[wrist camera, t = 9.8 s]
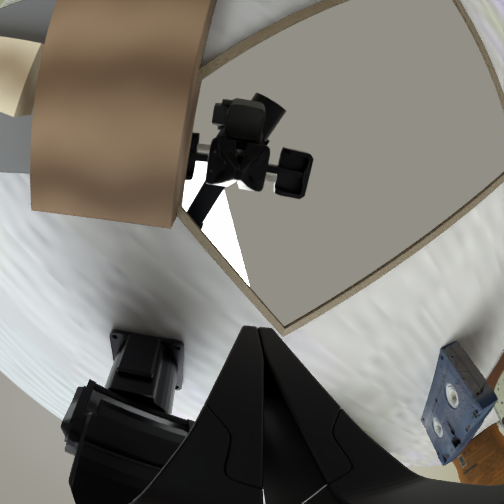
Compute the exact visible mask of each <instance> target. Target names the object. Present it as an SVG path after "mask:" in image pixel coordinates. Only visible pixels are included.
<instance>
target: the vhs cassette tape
mask: <svg viewBox="0 0 504 504" xmlns="http://www.w3.org/2000/svg"><path fill="white" fill-rule="evenodd" d="M497 400H498V398H497V396H496V394H495V392H494V391H493V389H492V388H491V386H490V385H487V381H486V379H485V378H484V377H483V375H482V374H481V373H480V371H479V370H478V368H477V367H476V366H475V365H474V363H473V362H472V360H471V359H470V358H469V357H468V355H467V354H466V352H465V351H464V350H463V348H462V347H461V346H460V345H459V343H458V342H454V343H451V344H449V345H447V346H446V347H444V348H441V349H440V354H439V358H438V362H437V366H436V370H435V374H434V378H433V382H432V385H431V389H430V392H429V396H428V399H427V402H426V405H425V408H424V412H423V415H422V418H421V421H422V423H423V425H424V427H425V428H426V431H427V434H428V435H429V438H430V440H431V442H432V444H433V446H434V448H435V450H436V452H437V455H438V458H439V460H440V461H441V463H442V465H443V466H444V465H446V464H448V463H450V462H452V461H453V460H455V459H456V457H457V456H458V455H459V454H460V453H461V452H462V450H463V449H464V448H465V447H466V445H467V444H468V442H469V441H470V440H471V439H472V438H473V436H474V435H475V433H476V432H477V430H478V429H479V428H480V426H481V425H482V423H483V421H484V419H485V418H486V416H487V415H488V414H489V413H490V411H491V410H492V408H493V406H494V405H495V403H496V402H497Z"/></svg>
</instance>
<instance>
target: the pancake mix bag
mask: <svg viewBox="0 0 504 504" xmlns="http://www.w3.org/2000/svg"><path fill="white" fill-rule="evenodd" d="M452 462H453V463H454V465H455V466H456V469H457V471H458V474H459V479H460V481H461V483H465V484H476V485H501V484H504V436H503V435H502V434H501V432H500V431H499V429H498V426H497V423H495V424H493V425H491V426H489V427H488V428H486V429H485V430H484V431H483V432H481V433H480V434H479V435H477V436H476V437H475V438H473V439H472V440H470V441H469V442H468V444H467V445H466V447H465V448H464V449H463V450H462V452H461V453H460V454H459V455H458V456H457V457H456V459H455V460H453V461H452Z"/></svg>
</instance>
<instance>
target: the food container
mask: <svg viewBox="0 0 504 504" xmlns="http://www.w3.org/2000/svg"><path fill="white" fill-rule="evenodd" d="M486 381H487V385H490V386H491V388H492V389H493V391H494V392H495V394H496V396H497V398H498V400H497V402H496V403H495V405H494V406H493V408H494V410H495V412H496V414H497V416H498V418H499V420H500V421H498V422H497V423H498V424H499V425H500V426H501V427H503V428H504V350H503V352H502V353H501V355H500V357H499V358H498V360H497V361H496V363H495V365H494V366H493V368H492V369H491V371H490V373H489V374H488V376H487V377H486Z"/></svg>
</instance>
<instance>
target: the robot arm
mask: <svg viewBox="0 0 504 504" xmlns="http://www.w3.org/2000/svg"><path fill="white" fill-rule="evenodd" d="M115 335H116V336H115ZM110 341H111V348H112V354H113V360H114V363H113V366H112V369H111V371H110V374H109V377H108V380H107V383H106V385H105V388H104V387H102V386H100V385H98V384H96V382H94V381H92V380H89V382H88V385H87V387H86V386H84V387H78V388H77V390H76V393H75V395H74V398H73V400H72V403H71V405H70V407H69V409H68V411H67V413H66V415H65V417H64V419H63V421H62V424H61V429H62V431H63V433H64V435H65V442H67V443H66V447H65V452H67V453H70V454H72V455H74V456H75V458H74V461H73V464H72V468H71V472H70V477H69V485H70V487H71V491H72V494H73V497H74V500H75V503H76V504H263V491H262V490H263V489H264V496H265V502H266V504H504V484H501V485H476V484H465V483H456V482H449V481H442V480H435V479H429V478H426V477H423V476H420V475H418V474H416V473H414V472H412V471H411V470H409V469H408V468H407V467H405V466H404V465H403V464H402V463H400V462H399V461H398V460H397V459H396V458H394V457H393V456H392V455H391V454H390V453H388V452H387V451H386V450H385V449H384V448H382V447H381V446H380V445H379V444H378V443H377V442H375V441H374V440H373V439H372V438H371V437H370V436H369V435H368V434H367V433H365V432H364V431H363V430H362V429H361V428H360V427H359V426H358V425H357V424H356V423H355V422H354V421H353V419H352V418H351V417H350V416H349V415H348V414H347V413H346V412H345V411H344V410H343V409H340V408H341V407H340V405H339V404H338V403H337V402H336V401H335V400H334V399H333V398H332V397H331V395H330V394H329V393H328V392H327V391H326V390H325V389H324V388H323V386H322V385H321V384H320V383H319V382H318V381H317V380H316V379H315V377H314V376H313V375H312V374H311V373H310V372H309V371H308V369H307V368H306V367H305V366H304V365H303V364H302V363H301V361H300V360H299V359H298V358H297V357H296V356H295V354H294V353H293V352H292V351H291V350H290V349H289V348H288V346H287V345H286V344H285V343H284V342H283V341H282V339H281V338H280V337H279V336H278V335H277V333H276V332H275V331H274V330H273V329H272V328H265V327H259V328H257V327H255V326H243V327H242V328H241V330H240V333H239V335H238V337H237V339H236V341H235V343H234V345H233V347H232V349H231V351H230V353H229V355H228V357H227V359H226V362H225V364H224V366H223V368H222V370H221V372H220V374H219V376H218V378H217V380H216V382H215V384H214V386H213V388H212V390H211V392H210V394H209V396H208V398H207V400H206V402H205V404H204V406H203V408H202V410H201V412H200V414H199V416H198V417H197V419H196V421H195V422H194V421H192V420H189V419H187V420H185V419H182V418H179V417H176V416H173V415H171V413H172V406H173V399H174V392H175V390H180V389H181V388H182V372H183V353H184V344H183V343H182V342H181V341H177V340H171V339H164V338H158V337H152V336H147V335H141V334H135V333H130V332H125V331H120V330H112V331H111V333H110ZM177 346H179V347H177Z"/></svg>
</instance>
